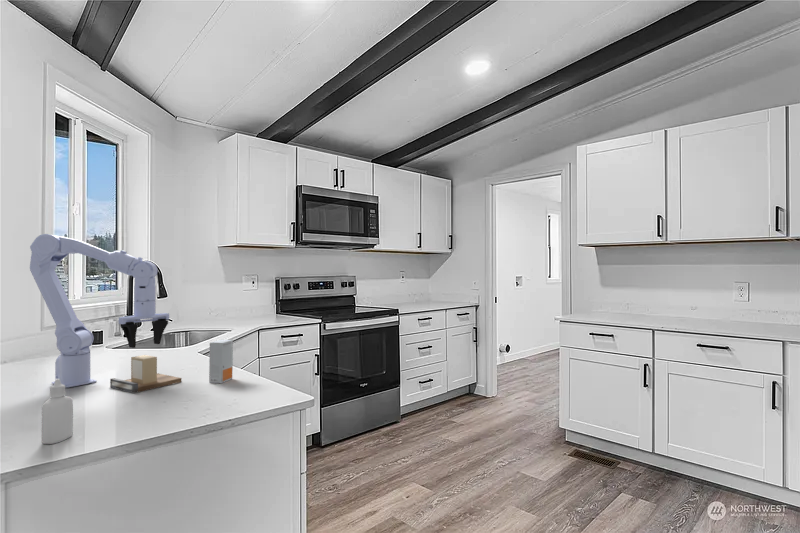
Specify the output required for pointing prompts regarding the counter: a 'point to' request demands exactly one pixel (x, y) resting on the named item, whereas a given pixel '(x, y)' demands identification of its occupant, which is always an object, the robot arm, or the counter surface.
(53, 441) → the eye dropper bottle
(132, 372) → the box
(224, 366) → the skincare box
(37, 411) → the counter surface
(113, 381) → the tan tray
